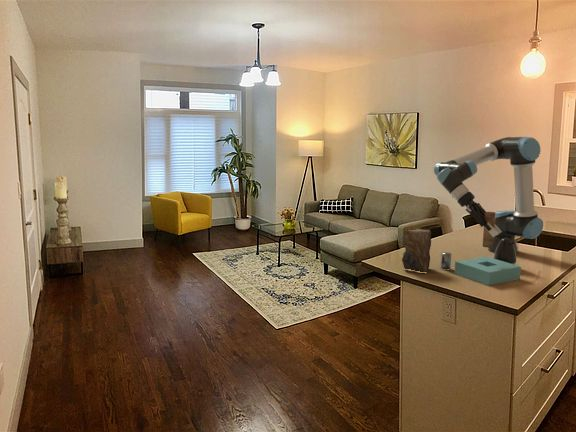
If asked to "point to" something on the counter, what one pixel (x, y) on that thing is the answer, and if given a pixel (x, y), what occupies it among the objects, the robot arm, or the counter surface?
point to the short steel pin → (446, 260)
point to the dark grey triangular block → (506, 251)
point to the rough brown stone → (417, 250)
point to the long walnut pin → (487, 236)
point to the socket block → (487, 270)
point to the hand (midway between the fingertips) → (497, 234)
